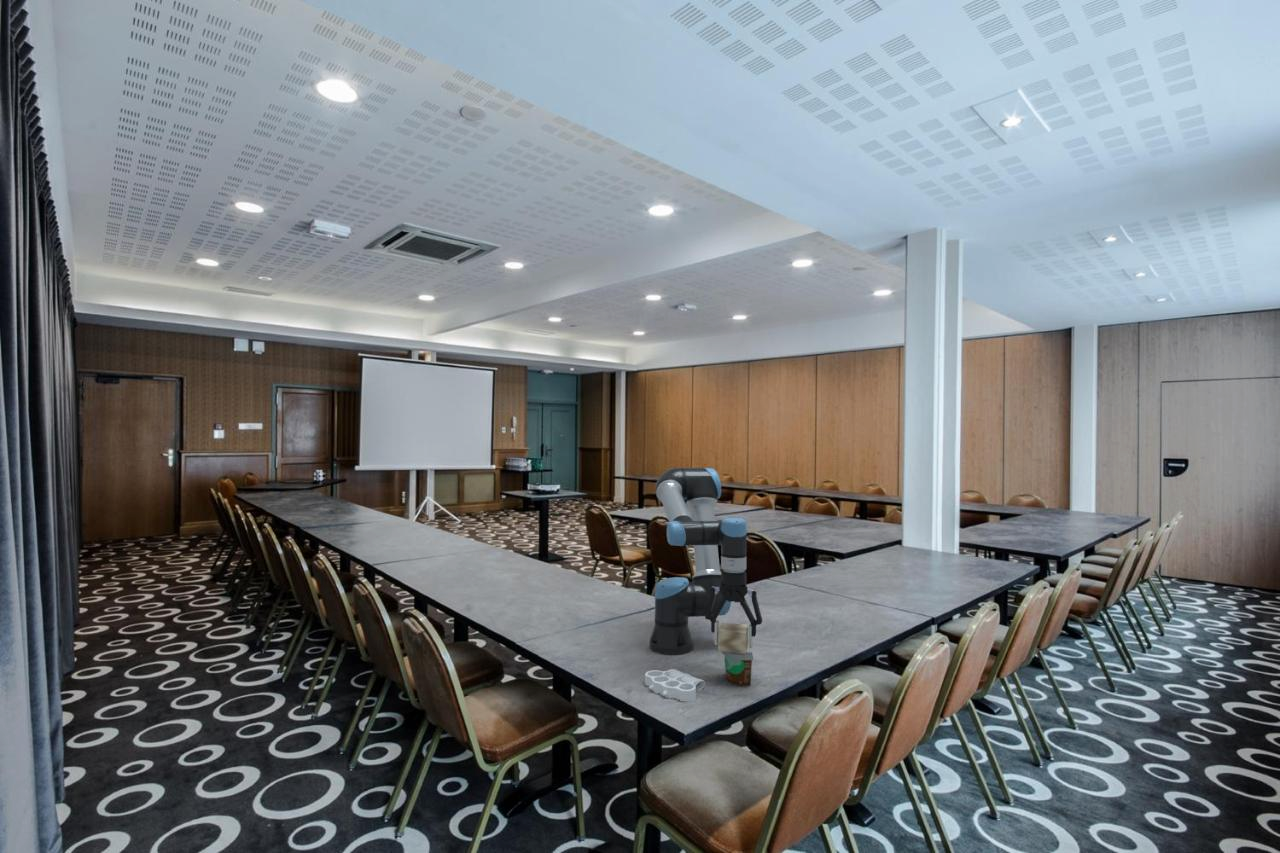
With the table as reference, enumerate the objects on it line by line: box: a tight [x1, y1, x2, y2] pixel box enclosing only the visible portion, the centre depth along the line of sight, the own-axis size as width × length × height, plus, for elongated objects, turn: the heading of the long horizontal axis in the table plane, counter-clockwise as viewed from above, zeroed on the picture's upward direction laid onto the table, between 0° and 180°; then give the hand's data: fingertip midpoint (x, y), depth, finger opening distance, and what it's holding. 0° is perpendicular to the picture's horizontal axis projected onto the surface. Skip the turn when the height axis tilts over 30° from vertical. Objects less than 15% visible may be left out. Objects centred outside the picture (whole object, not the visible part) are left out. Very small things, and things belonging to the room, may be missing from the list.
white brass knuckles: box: [644, 668, 706, 702], centre depth 176 cm, size 3×18×15 cm
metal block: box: [717, 622, 749, 654], centre depth 182 cm, size 8×8×6 cm
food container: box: [721, 651, 754, 687], centre depth 183 cm, size 12×6×10 cm, turn 21°
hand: (733, 645), depth 183 cm, fingers open, 9 cm apart
